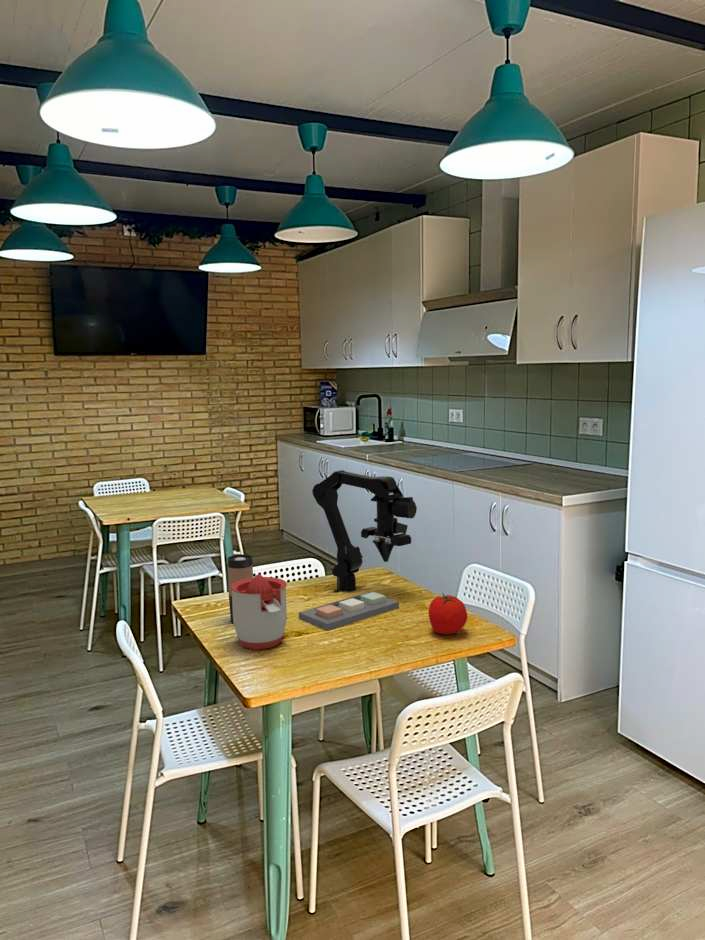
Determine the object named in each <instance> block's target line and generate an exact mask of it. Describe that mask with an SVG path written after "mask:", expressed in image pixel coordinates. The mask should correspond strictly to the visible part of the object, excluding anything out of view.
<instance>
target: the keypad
mask: <svg viewBox="0 0 705 940" xmlns="http://www.w3.org/2000/svg"><path fill="white" fill-rule="evenodd" d="M368 593H372V592H370V591H368V592H365V593H361V594H358V595H354V596H351V597H346V598H344V599H340V600H336V601H334V602H330V603H327V604H322V605H320V606H315V607H312V608H308V609H305V610H302V611H299V612H298V620H300V621H303V622H306V623H308V624H310V625H313V626H315V627H318V628H319V629H322V630H325V631H327V632H329V631H331V630H334V629H337V628H341V627H344V626H347V625H350V624H354V623H356V622H359V621H364V620H366V619H369V618H372V617H375V616H378V615H382V614H385V613H388V612H390V611H394V610H398V609H399V608H400V606H399V605H400V603H399V600H398V601H397V600H394V599H391V598H388V597H386V602H384V603H381V604H377V605H374V606H371V605H368V604H365V603H364V609H361V610H358V611H355V612H351V613H350V612H347V611H345V610H342V616H338V617H335V618H332V619H328V620H327V619H324V618H322V617H319V616H317V615H316V609H317V608H320V607H324V606H327V605H333V606H336V607H338V608H339V602H341V601H344V600H348V599H351V598H354V599H357V600H359V601H361V596H362V595H365V594H368Z"/></svg>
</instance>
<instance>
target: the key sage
mask: <svg viewBox="0 0 705 940" xmlns="http://www.w3.org/2000/svg"><path fill="white" fill-rule="evenodd" d="M386 598H387V596H386V595H384V594H381V593H377V592H376V591H372V592H371V593H368V594H365V595H362V596H361V601H362V602H364V603H365V604H368V605H371V606H374V605H377V604H381V603H384V602H386Z"/></svg>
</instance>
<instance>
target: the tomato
mask: <svg viewBox="0 0 705 940" xmlns="http://www.w3.org/2000/svg"><path fill="white" fill-rule="evenodd" d="M441 593H442V596H436V597H434V598H433V599H432V601H431V602H430V604H429V606H428V618H429V619H428V620H429V622H430V626H431V628H432V629H433V631H434V632H435V633H436V634H442V635H450V634H456V633H458V632H460V631H461V630H463V628H464V627H465V625H466V623H467V620H468V612H467V608H466V605H465V604H464V602H463V601H461V599H460V598H458V597H457V596H453V595H450V594H446V595H445V594H444V592H441Z"/></svg>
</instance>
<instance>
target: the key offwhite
mask: <svg viewBox="0 0 705 940" xmlns="http://www.w3.org/2000/svg"><path fill="white" fill-rule="evenodd" d="M339 608H341V609H342V610H345V611H347V612H350V613H351V612H355V611H358V610H361V609H364V602H362V601H359V600H357V599H354V598H351V599H348V600H344V601H341V602H339Z"/></svg>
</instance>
